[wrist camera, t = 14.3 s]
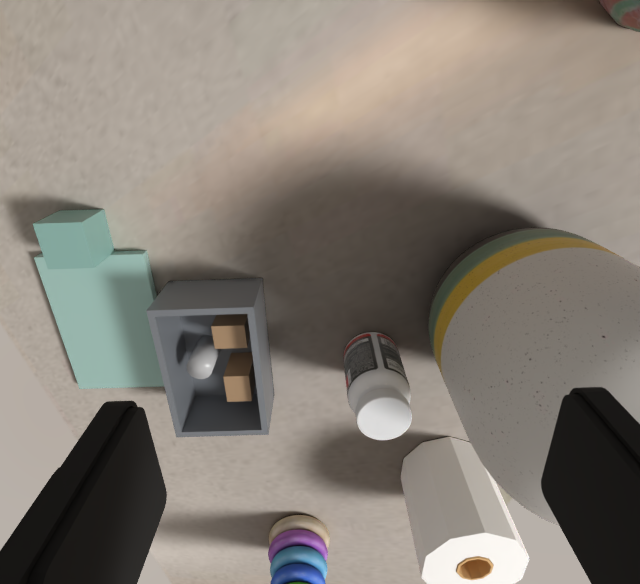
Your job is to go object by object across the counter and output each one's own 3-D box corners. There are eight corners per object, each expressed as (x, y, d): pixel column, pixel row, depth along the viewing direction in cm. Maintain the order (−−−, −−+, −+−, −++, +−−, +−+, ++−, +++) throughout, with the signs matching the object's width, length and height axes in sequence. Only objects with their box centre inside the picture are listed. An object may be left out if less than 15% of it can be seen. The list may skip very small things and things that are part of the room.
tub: (168, 281, 41) (146, 310, 36) (262, 278, 41) (253, 307, 36) (192, 396, 47) (176, 437, 42) (274, 394, 47) (268, 434, 42)
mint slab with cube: (26, 211, 38) (-5, 224, 35) (137, 208, 38) (118, 221, 35) (84, 382, 47) (64, 407, 43) (175, 380, 46) (163, 405, 43)
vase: (502, 393, 47) (658, 654, 26) (382, 316, 43) (447, 550, 21) (630, 279, 41) (975, 491, 20) (506, 175, 37) (770, 301, 15)
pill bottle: (343, 376, 46) (349, 446, 37) (342, 331, 44) (348, 394, 35) (397, 374, 46) (416, 443, 37) (398, 328, 44) (419, 391, 35)
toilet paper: (392, 494, 54) (411, 597, 43) (410, 432, 50) (436, 529, 39) (471, 501, 55) (509, 604, 44) (495, 440, 50) (544, 538, 39)
